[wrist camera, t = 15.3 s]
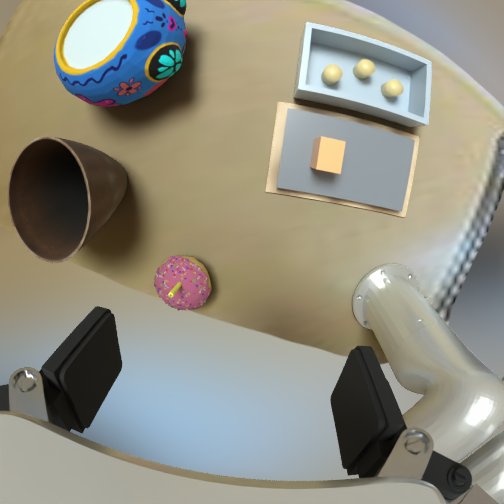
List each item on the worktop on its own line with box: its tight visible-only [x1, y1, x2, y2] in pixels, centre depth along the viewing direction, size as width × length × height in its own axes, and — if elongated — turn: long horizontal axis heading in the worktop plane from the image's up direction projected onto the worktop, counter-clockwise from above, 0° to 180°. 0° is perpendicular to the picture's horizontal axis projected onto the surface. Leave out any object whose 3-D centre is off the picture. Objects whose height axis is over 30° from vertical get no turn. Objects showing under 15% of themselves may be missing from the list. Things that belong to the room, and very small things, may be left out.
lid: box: [276, 108, 415, 212], centre depth 34 cm, size 19×11×7 cm, turn 82°
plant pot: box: [8, 136, 127, 263], centre depth 33 cm, size 15×15×16 cm
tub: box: [293, 22, 431, 127], centre depth 30 cm, size 18×10×6 cm, turn 83°
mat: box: [266, 102, 419, 217], centre depth 37 cm, size 22×13×1 cm, turn 83°
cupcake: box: [154, 255, 212, 310], centre depth 39 cm, size 9×8×12 cm
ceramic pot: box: [54, 0, 187, 107], centre depth 26 cm, size 18×18×15 cm
